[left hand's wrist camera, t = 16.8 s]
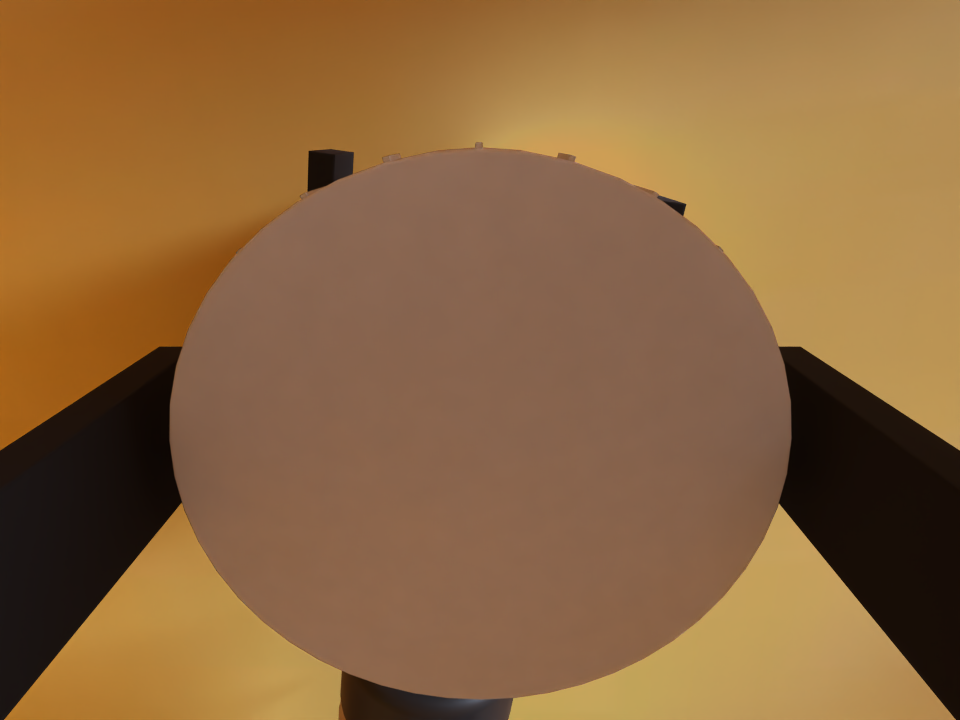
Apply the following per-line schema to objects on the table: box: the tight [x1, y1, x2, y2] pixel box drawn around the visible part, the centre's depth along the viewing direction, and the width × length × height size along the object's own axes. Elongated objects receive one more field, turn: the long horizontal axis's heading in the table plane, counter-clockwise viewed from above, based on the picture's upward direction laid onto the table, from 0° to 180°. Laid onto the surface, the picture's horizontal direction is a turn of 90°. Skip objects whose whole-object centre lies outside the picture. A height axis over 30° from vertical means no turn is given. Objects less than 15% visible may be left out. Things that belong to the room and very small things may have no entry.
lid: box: [170, 142, 792, 700], centre depth 11 cm, size 11×11×2 cm
